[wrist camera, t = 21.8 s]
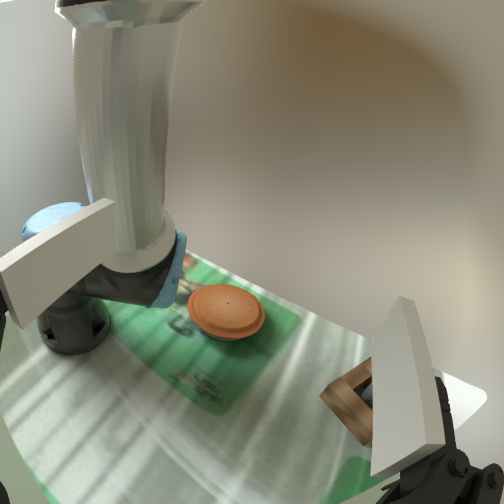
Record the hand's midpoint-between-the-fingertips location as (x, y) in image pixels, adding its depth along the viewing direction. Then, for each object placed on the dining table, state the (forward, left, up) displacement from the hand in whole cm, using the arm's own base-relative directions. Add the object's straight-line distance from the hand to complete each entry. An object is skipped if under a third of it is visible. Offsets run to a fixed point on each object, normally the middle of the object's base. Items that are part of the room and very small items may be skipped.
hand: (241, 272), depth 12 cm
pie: (-26, +19, -35) cm, 48 cm away
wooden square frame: (+4, +32, -35) cm, 48 cm away
